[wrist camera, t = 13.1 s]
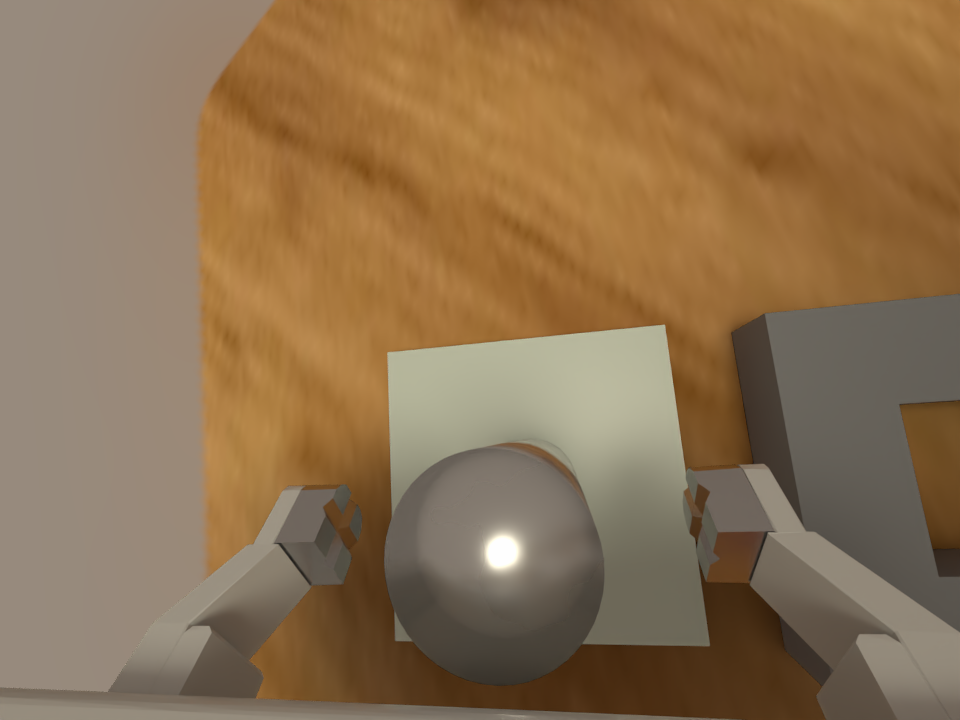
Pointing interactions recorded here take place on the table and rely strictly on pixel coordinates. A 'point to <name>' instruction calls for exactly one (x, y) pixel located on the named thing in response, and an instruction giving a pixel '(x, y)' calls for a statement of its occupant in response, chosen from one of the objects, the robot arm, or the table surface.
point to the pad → (572, 455)
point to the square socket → (854, 434)
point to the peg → (496, 562)
